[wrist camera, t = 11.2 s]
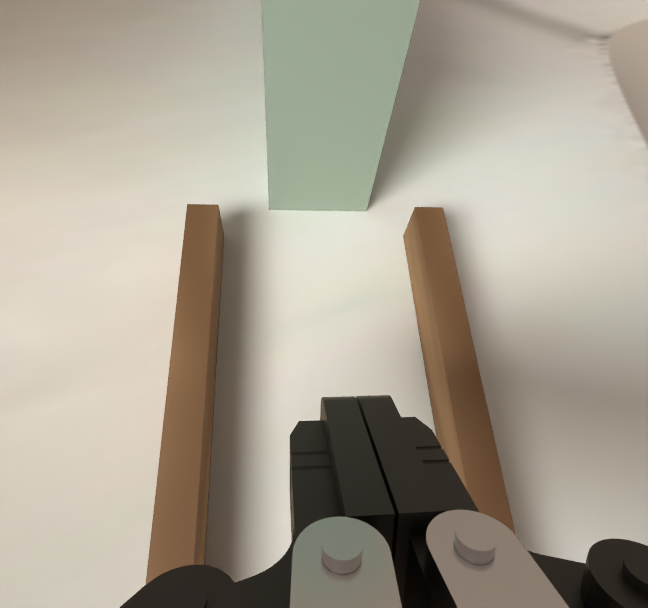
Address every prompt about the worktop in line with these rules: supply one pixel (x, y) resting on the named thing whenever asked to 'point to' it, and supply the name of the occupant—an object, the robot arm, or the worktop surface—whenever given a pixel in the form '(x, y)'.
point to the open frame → (200, 370)
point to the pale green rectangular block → (330, 96)
